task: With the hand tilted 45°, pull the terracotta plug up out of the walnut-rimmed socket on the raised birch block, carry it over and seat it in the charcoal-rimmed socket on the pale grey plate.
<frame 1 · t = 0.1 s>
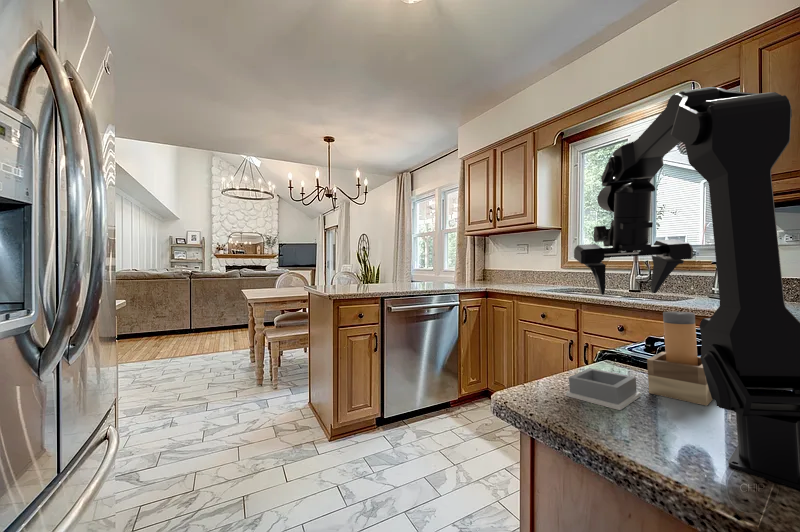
hand: (627, 293, 69), 15 cm above the countertop, tool pointing down, fingers open, 9 cm apart
plug: (682, 374, 55), point 3 cm above the countertop, touching upper jack
lower jack: (602, 396, 56), on the countertop
upper jack: (683, 393, 55), on the countertop
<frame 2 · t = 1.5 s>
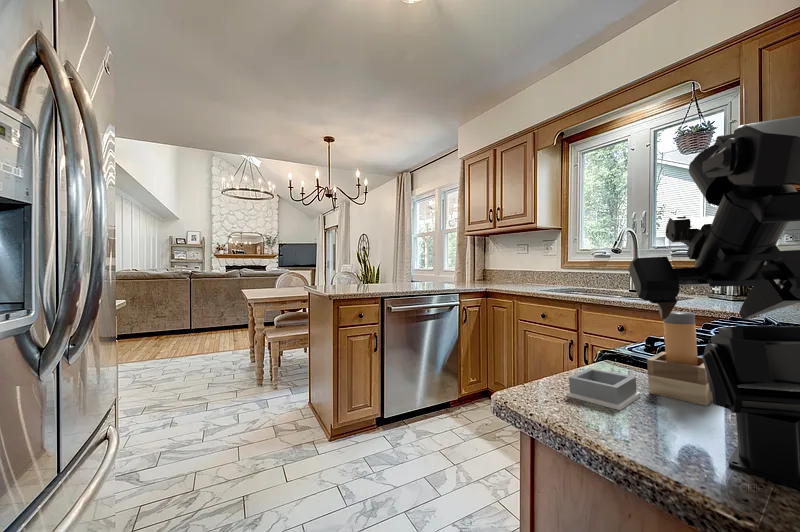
hand: (701, 316, 48), 13 cm above the countertop, tool tilted 45°, fingers open, 9 cm apart
nothing on the countertop moved.
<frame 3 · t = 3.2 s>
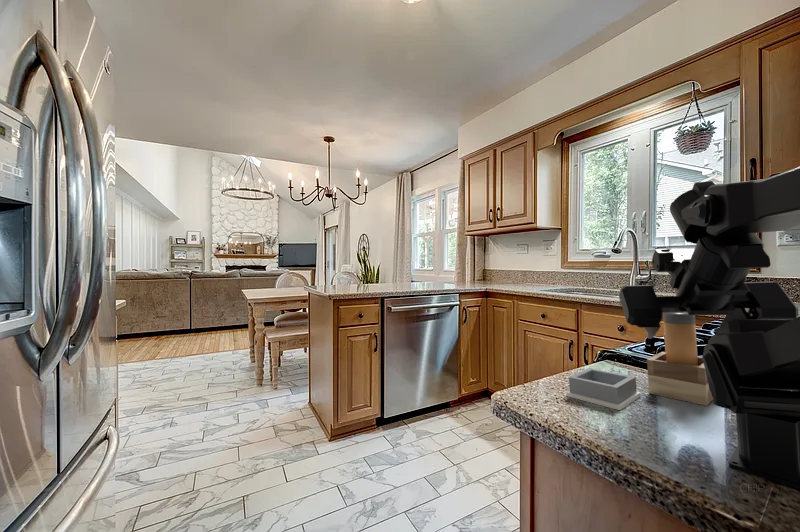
hand: (683, 336, 54), 9 cm above the countertop, tool tilted 45°, fingers open, 9 cm apart
nothing on the countertop moved.
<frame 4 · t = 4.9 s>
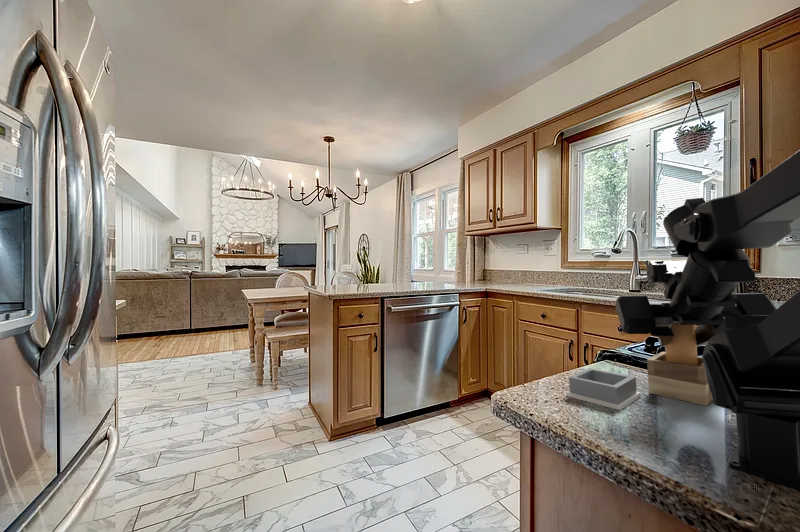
hand: (676, 344, 57), 8 cm above the countertop, tool tilted 45°, fingers closed on plug, 4 cm apart
plug: (682, 374, 55), point 3 cm above the countertop, touching gripper, upper jack
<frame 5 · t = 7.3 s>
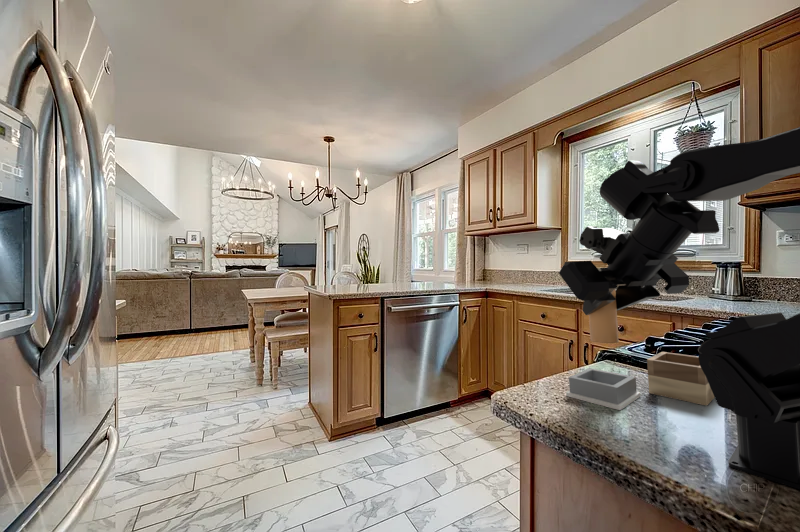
hand: (596, 311, 57), 14 cm above the countertop, tool tilted 45°, fingers closed on plug, 4 cm apart
plug: (604, 340, 56), point 9 cm above the countertop, touching gripper
when the fingers open (7 cm above the countertop, at t = 9.7 s): plug drops 1 cm, resting on lower jack.
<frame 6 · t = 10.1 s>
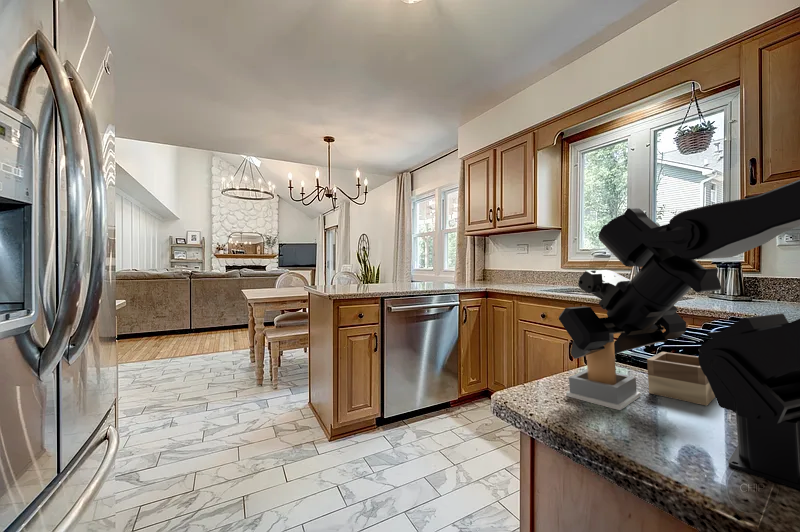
hand: (593, 353, 57), 7 cm above the countertop, tool tilted 45°, fingers open, 8 cm apart
plug: (602, 392, 56), point 1 cm above the countertop, touching lower jack
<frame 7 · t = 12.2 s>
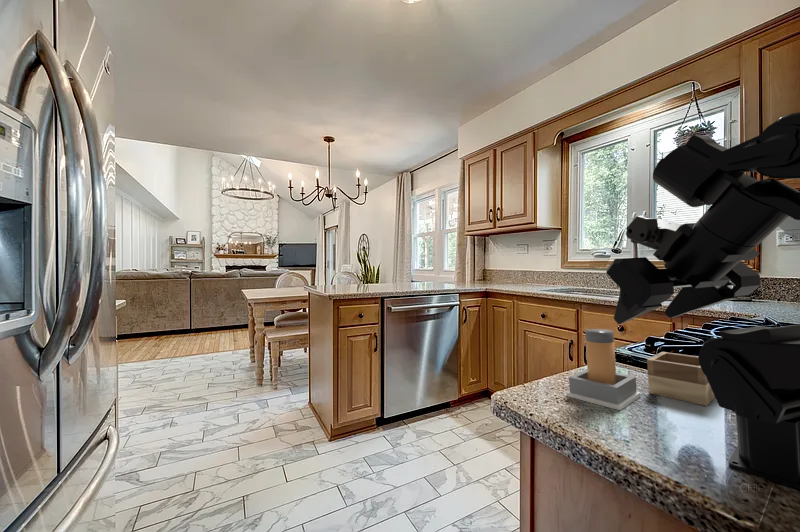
hand: (642, 318, 48), 14 cm above the countertop, tool tilted 45°, fingers open, 9 cm apart
nothing on the countertop moved.
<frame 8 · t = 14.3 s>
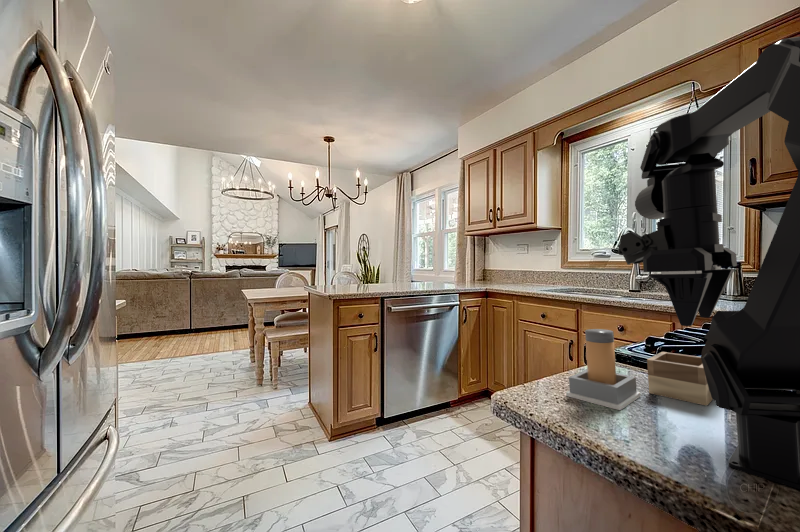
hand: (696, 321, 47), 13 cm above the countertop, tool pointing down, fingers open, 9 cm apart
nothing on the countertop moved.
at the end: plug 0.0 cm off-centre on the lower jack, point 0.6 cm above the lower jack's base; plug tilted 0°; the gripper is holding nothing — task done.
